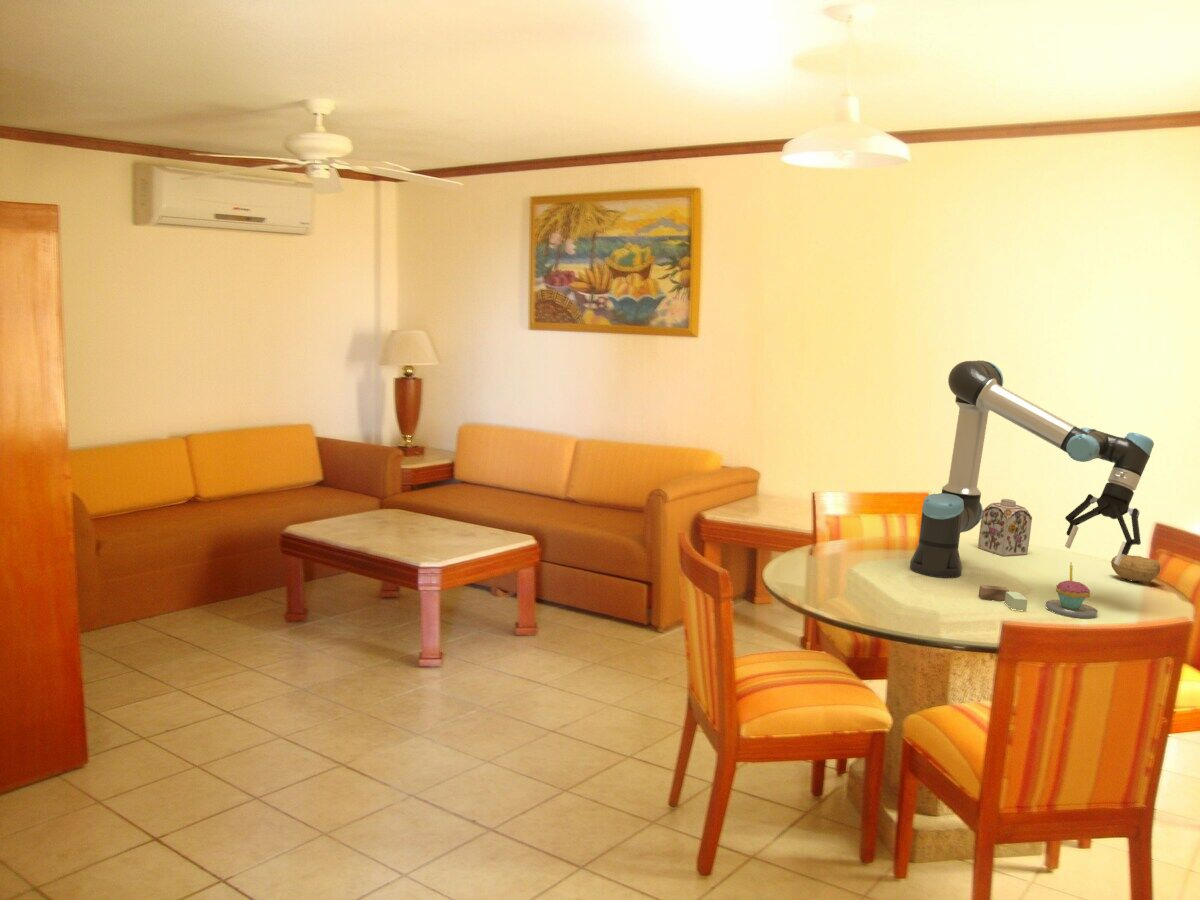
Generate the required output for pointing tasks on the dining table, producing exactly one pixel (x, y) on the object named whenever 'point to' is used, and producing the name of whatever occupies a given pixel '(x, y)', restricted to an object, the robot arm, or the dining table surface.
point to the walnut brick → (992, 593)
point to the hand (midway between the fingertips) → (1091, 555)
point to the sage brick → (1016, 601)
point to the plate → (1072, 610)
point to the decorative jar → (1005, 529)
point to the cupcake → (1072, 592)
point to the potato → (1137, 568)
